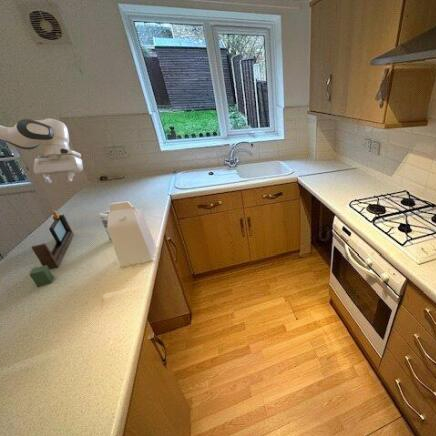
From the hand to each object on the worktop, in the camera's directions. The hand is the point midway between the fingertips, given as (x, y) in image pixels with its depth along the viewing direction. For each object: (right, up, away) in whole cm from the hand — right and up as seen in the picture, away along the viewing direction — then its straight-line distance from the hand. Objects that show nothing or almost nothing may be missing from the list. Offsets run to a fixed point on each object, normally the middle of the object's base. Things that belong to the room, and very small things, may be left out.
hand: (59, 182), depth 114 cm
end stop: (+16, -42, -22) cm, 50 cm away
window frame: (+4, -32, -3) cm, 33 cm away
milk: (+43, -34, -7) cm, 56 cm away
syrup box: (+24, -27, +6) cm, 37 cm away
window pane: (0, -27, +2) cm, 27 cm away
